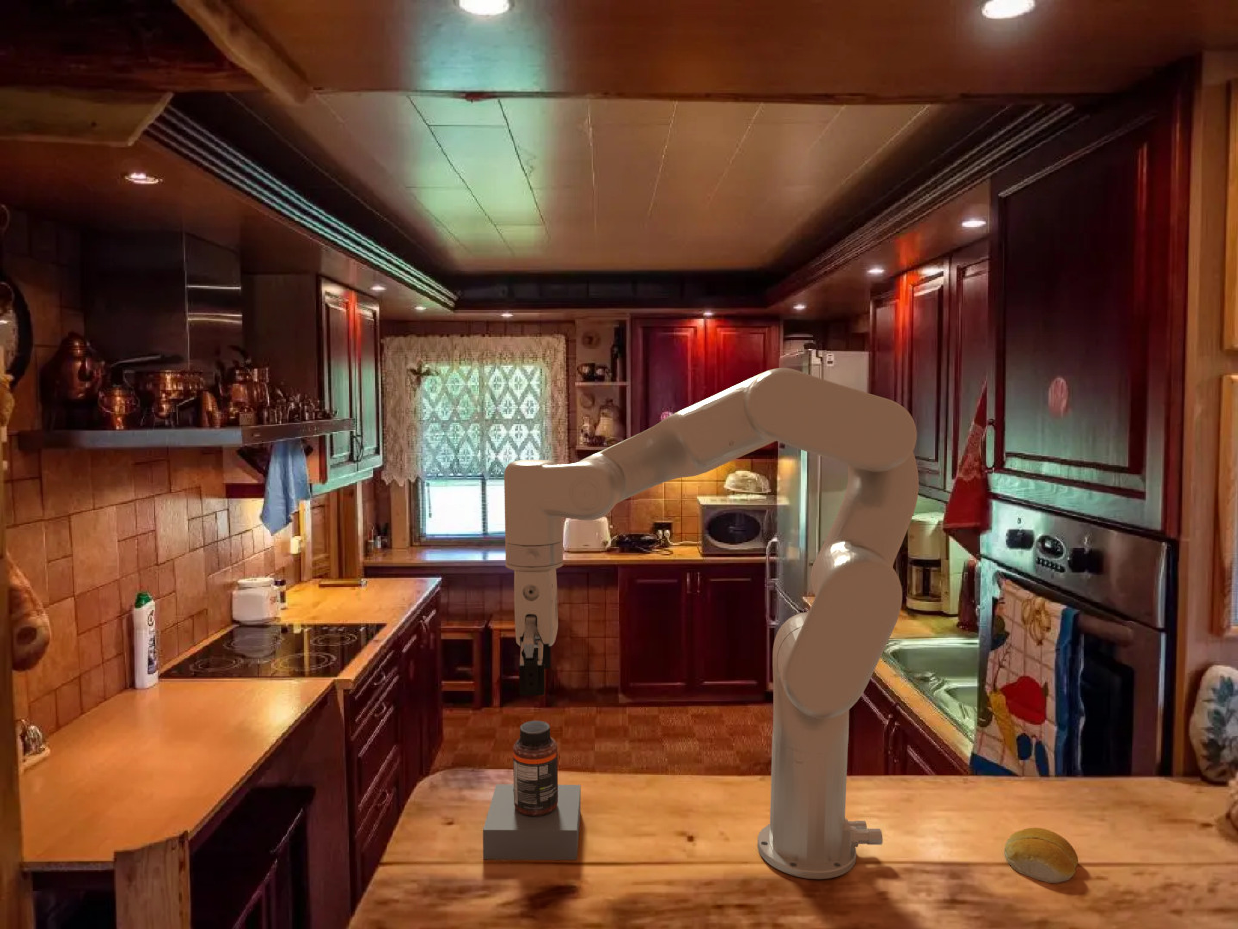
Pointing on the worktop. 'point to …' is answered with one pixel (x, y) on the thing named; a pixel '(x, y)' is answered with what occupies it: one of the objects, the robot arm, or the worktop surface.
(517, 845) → the pedestal
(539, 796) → the supplement bottle
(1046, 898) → the worktop surface
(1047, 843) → the bread roll
